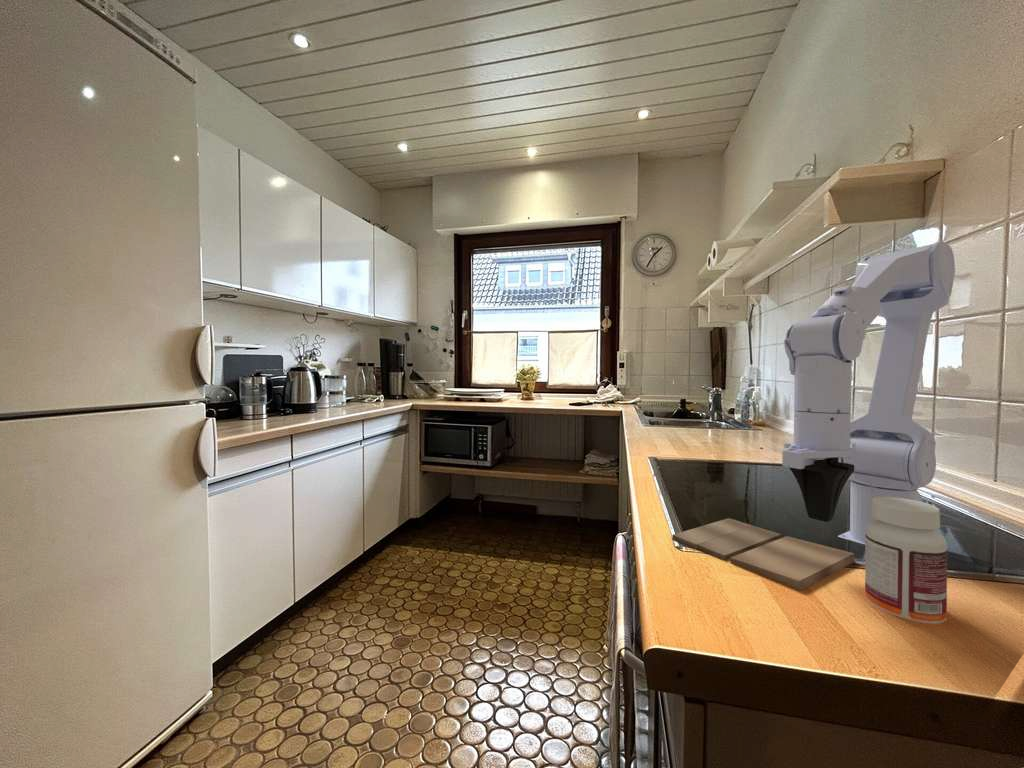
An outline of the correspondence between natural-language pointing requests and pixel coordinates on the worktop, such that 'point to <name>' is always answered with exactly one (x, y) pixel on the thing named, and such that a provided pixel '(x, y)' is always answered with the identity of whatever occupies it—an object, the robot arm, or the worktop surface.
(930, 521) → the pill bottle
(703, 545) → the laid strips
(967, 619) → the worktop surface
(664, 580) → the worktop surface
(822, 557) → the plank
